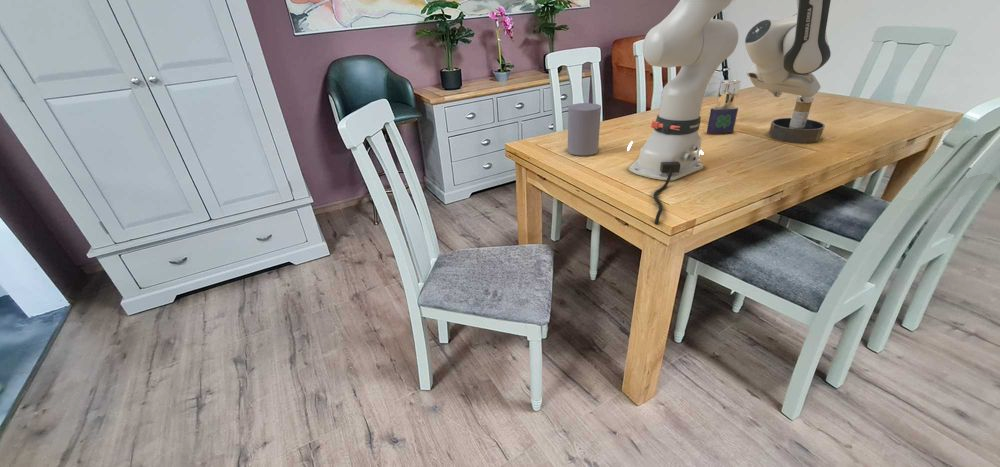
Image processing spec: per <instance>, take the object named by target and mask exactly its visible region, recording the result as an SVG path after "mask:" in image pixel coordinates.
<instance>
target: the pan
mask: <svg viewBox="0 0 1000 467" xmlns="http://www.w3.org/2000/svg"><path fill="white" fill-rule="evenodd" d="M791 118H792V117H781V118H775V119H773V120H771V123H770V126H769V129H768V137H770V139H774V140H776V141H779V142H784V143H789V144H815V143H818V142H820V141H821V139H822V137H823V135H824V131H825V128H826V125H825V123H823V122H821V121H817V120H813V119H808V118H807V121H806V124H805V127H804V129H792V128H789V126H790V121H791Z"/></svg>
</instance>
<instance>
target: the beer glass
mask: <svg viewBox="0 0 1000 467" xmlns="http://www.w3.org/2000/svg"><path fill="white" fill-rule="evenodd" d="M741 83H742V82H741V80H738V79H723V80H720V85H719V87H718V92H717V103H716V104H717V105H716V107H719V108H721V107H722V106H724V105H725V103H728V104H729V105H728V106H729V107H736V103H737V100H738V97H739V94H740V89H741Z"/></svg>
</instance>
